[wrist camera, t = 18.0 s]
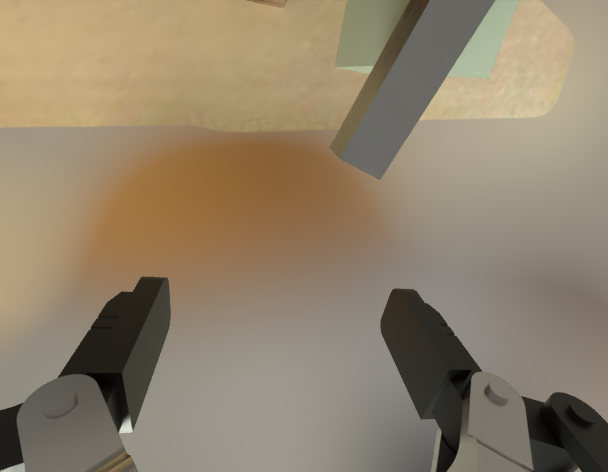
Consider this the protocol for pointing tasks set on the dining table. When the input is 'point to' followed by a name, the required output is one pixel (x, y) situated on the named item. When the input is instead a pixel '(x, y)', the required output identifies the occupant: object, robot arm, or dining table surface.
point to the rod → (406, 80)
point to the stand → (271, 2)
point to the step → (383, 19)
